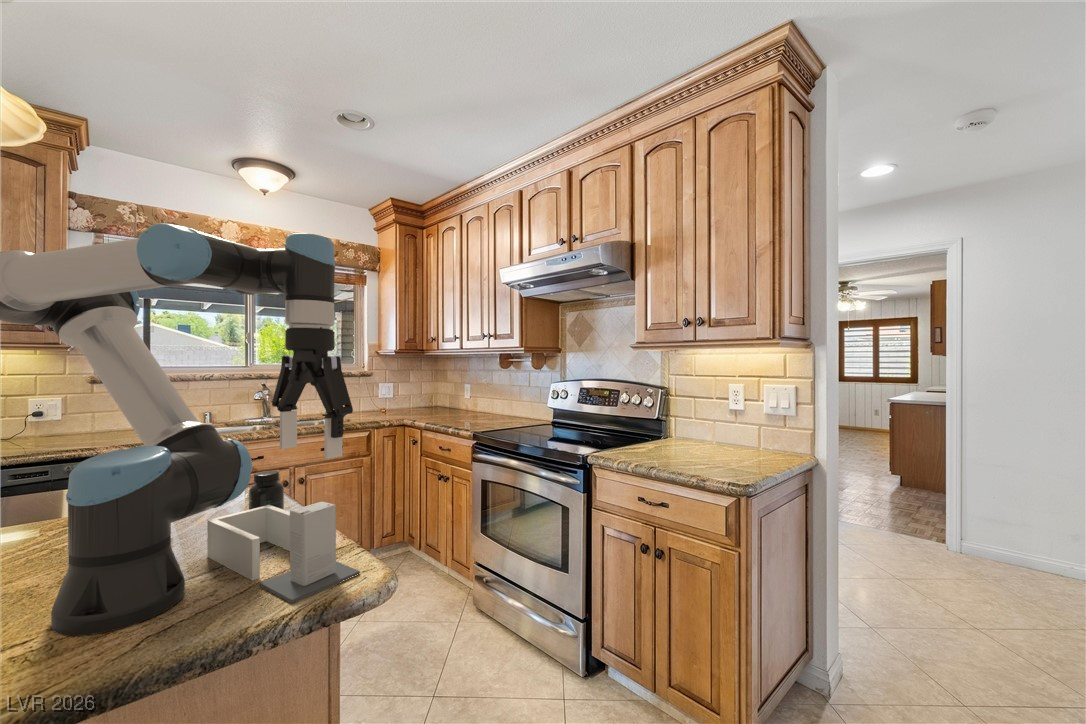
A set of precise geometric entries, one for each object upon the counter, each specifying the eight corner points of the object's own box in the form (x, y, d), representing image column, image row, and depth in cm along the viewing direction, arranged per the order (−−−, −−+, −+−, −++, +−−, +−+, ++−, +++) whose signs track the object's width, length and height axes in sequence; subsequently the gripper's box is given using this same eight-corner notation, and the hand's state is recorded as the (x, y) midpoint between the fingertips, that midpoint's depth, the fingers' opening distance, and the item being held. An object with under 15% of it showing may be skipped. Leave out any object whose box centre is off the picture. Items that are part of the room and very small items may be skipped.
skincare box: (321, 567, 85) (321, 499, 85) (337, 573, 83) (337, 504, 83) (287, 581, 80) (287, 509, 80) (304, 588, 78) (304, 514, 77)
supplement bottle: (245, 525, 108) (245, 472, 108) (279, 518, 112) (279, 467, 112) (252, 534, 103) (252, 478, 103) (287, 526, 107) (287, 473, 107)
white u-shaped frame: (252, 580, 81) (252, 539, 81) (207, 556, 91) (207, 520, 91) (316, 557, 91) (315, 520, 91) (269, 538, 100) (269, 504, 100)
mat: (292, 603, 74) (292, 599, 74) (259, 586, 80) (259, 582, 80) (359, 574, 84) (359, 571, 84) (326, 560, 90) (326, 557, 89)
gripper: (376, 327, 77) (375, 457, 78) (292, 330, 91) (292, 441, 92) (333, 324, 71) (332, 466, 71) (250, 328, 85) (250, 447, 85)
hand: (309, 452), depth 82 cm, fingers open, 13 cm apart
